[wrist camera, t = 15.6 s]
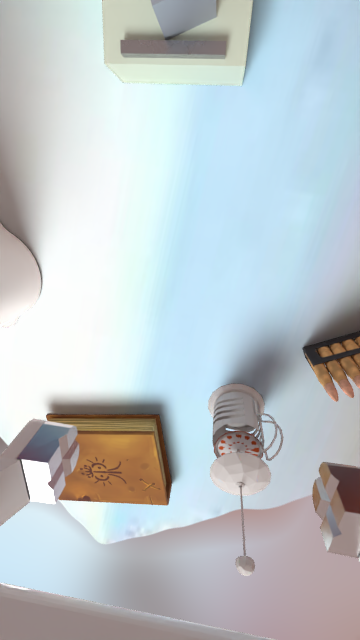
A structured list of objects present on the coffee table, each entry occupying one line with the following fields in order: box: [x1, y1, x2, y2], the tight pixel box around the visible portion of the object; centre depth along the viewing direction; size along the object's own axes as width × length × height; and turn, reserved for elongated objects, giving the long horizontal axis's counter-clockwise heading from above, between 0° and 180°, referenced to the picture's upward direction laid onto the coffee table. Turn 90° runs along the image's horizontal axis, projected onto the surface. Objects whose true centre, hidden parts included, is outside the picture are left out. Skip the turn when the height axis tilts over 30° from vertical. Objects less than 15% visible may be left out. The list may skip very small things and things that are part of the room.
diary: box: [46, 415, 172, 505], centre depth 59 cm, size 23×19×6 cm
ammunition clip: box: [303, 331, 360, 402], centre depth 39 cm, size 11×2×12 cm, turn 114°
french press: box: [208, 384, 283, 576], centre depth 40 cm, size 10×12×25 cm
